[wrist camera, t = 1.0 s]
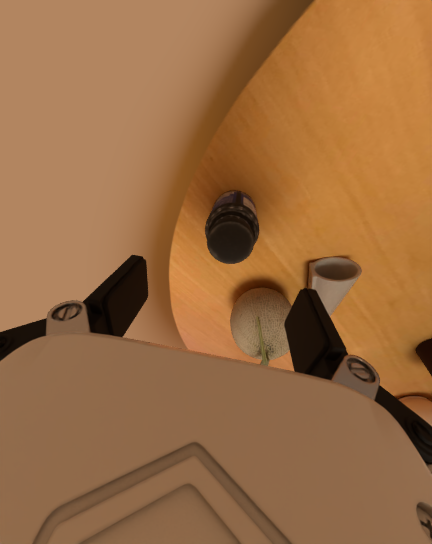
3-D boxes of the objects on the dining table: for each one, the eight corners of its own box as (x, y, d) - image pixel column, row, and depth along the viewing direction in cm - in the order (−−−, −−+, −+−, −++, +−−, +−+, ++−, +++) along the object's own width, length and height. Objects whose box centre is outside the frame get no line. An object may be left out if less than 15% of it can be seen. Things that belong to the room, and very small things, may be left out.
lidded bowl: (441, 386, 44) (492, 449, 35) (444, 410, 49) (489, 471, 40) (377, 394, 49) (408, 451, 40) (386, 415, 54) (414, 470, 45)
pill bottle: (211, 228, 30) (197, 265, 21) (215, 186, 27) (200, 208, 17) (251, 234, 30) (253, 274, 21) (260, 192, 26) (268, 218, 17)
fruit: (286, 267, 32) (312, 343, 20) (290, 315, 38) (313, 398, 26) (225, 276, 35) (215, 349, 22) (238, 320, 41) (235, 398, 28)
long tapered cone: (343, 355, 36) (368, 281, 25) (306, 352, 38) (313, 282, 27) (336, 329, 41) (354, 255, 29) (303, 328, 43) (307, 258, 31)
